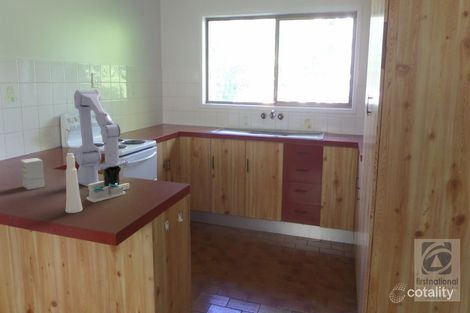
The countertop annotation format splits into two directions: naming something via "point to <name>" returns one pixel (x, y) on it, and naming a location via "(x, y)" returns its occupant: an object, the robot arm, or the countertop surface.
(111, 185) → the plunger inner
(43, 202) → the countertop surface
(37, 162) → the supplement box
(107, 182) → the supplement bottle
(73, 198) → the cosmetic bottle
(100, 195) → the white knob panel
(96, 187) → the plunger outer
